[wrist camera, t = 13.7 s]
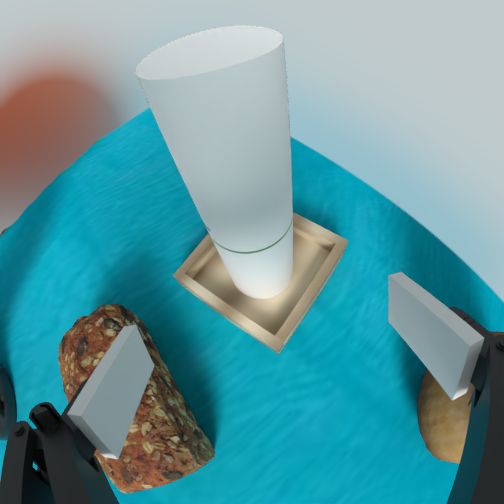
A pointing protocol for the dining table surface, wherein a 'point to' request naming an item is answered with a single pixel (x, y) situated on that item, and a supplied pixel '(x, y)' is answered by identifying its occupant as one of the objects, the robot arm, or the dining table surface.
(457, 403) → the butternut squash
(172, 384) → the bread
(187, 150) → the cylindrical container
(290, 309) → the holder tray
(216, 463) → the dining table surface
